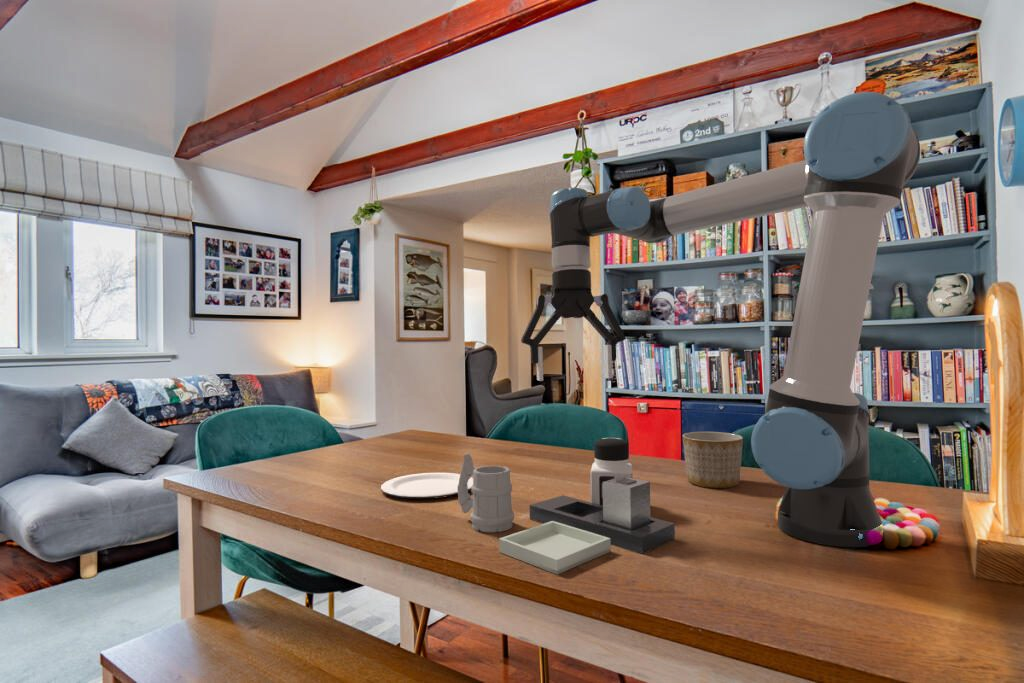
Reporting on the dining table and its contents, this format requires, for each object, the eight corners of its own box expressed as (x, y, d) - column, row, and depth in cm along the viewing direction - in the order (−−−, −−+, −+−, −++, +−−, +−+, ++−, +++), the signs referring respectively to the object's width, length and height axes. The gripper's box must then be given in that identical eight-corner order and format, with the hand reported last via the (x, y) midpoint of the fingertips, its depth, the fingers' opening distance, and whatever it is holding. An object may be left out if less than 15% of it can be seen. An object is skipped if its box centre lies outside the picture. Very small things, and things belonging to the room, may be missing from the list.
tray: (610, 551, 85) (610, 538, 85) (557, 574, 77) (556, 559, 77) (552, 532, 94) (552, 520, 94) (499, 551, 86) (498, 538, 86)
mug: (495, 536, 93) (494, 463, 93) (444, 523, 100) (443, 455, 100) (523, 524, 99) (522, 456, 99) (473, 512, 106) (472, 449, 106)
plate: (494, 492, 121) (494, 484, 121) (404, 510, 110) (404, 501, 110) (449, 474, 139) (448, 468, 139) (366, 488, 127) (366, 480, 127)
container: (633, 513, 104) (631, 443, 104) (590, 511, 106) (589, 442, 106) (632, 501, 112) (631, 436, 112) (593, 500, 113) (592, 435, 113)
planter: (748, 480, 127) (747, 434, 127) (737, 493, 117) (736, 442, 117) (691, 474, 134) (691, 430, 134) (676, 485, 123) (675, 438, 123)
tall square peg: (650, 537, 91) (649, 480, 91) (631, 545, 88) (630, 486, 88) (623, 529, 95) (622, 475, 95) (603, 537, 92) (602, 480, 92)
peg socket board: (674, 538, 90) (674, 523, 90) (642, 554, 84) (642, 537, 84) (563, 508, 108) (562, 495, 108) (529, 518, 102) (529, 505, 102)
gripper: (626, 272, 115) (629, 376, 115) (505, 273, 112) (508, 380, 112) (639, 267, 108) (643, 377, 107) (510, 268, 104) (513, 382, 104)
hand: (574, 379), depth 110 cm, fingers open, 13 cm apart
